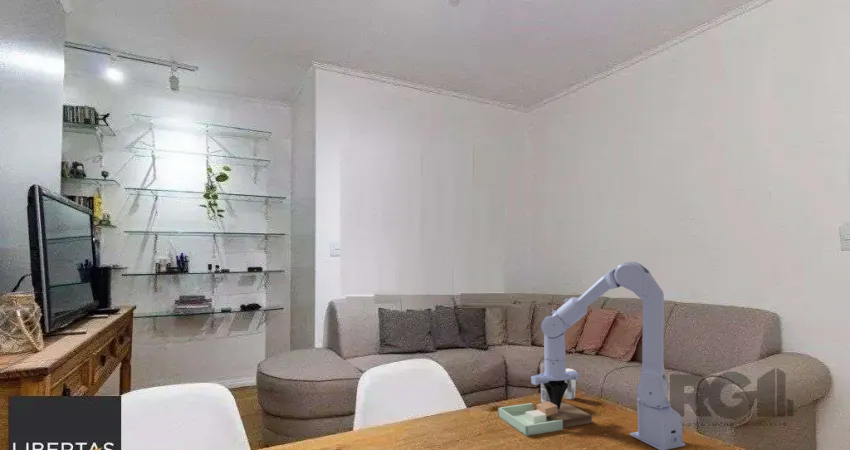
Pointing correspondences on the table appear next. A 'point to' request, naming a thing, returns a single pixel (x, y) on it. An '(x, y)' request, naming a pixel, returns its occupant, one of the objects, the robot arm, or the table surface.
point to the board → (570, 415)
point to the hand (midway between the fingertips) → (555, 408)
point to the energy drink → (543, 390)
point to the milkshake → (570, 386)
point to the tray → (518, 421)
